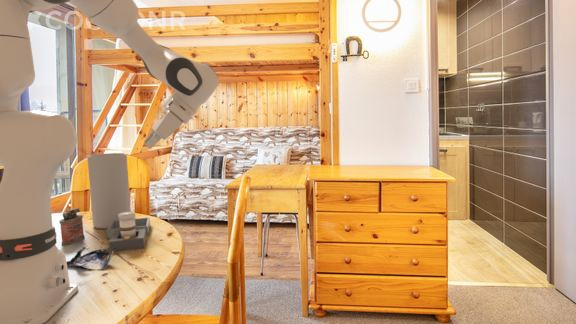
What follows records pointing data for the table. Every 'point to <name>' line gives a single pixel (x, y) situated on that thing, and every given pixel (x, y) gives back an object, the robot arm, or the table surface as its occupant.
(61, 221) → the lighter
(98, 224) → the cylinder vase
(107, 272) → the table surface
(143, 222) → the tray
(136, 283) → the table surface
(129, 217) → the ball
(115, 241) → the block
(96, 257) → the snack package
